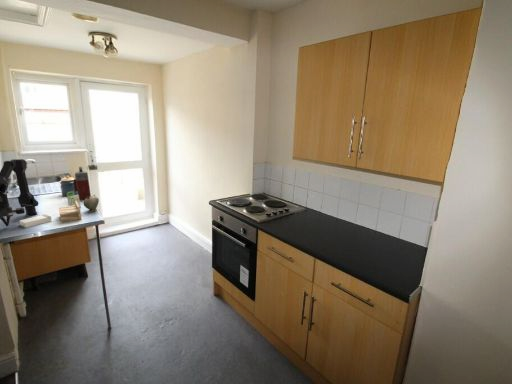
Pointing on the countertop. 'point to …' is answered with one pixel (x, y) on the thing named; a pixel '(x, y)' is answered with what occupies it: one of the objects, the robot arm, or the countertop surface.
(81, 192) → the dark red tall piece
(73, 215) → the wooden crate
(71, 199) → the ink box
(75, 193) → the canister
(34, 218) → the white long block
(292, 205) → the countertop surface
